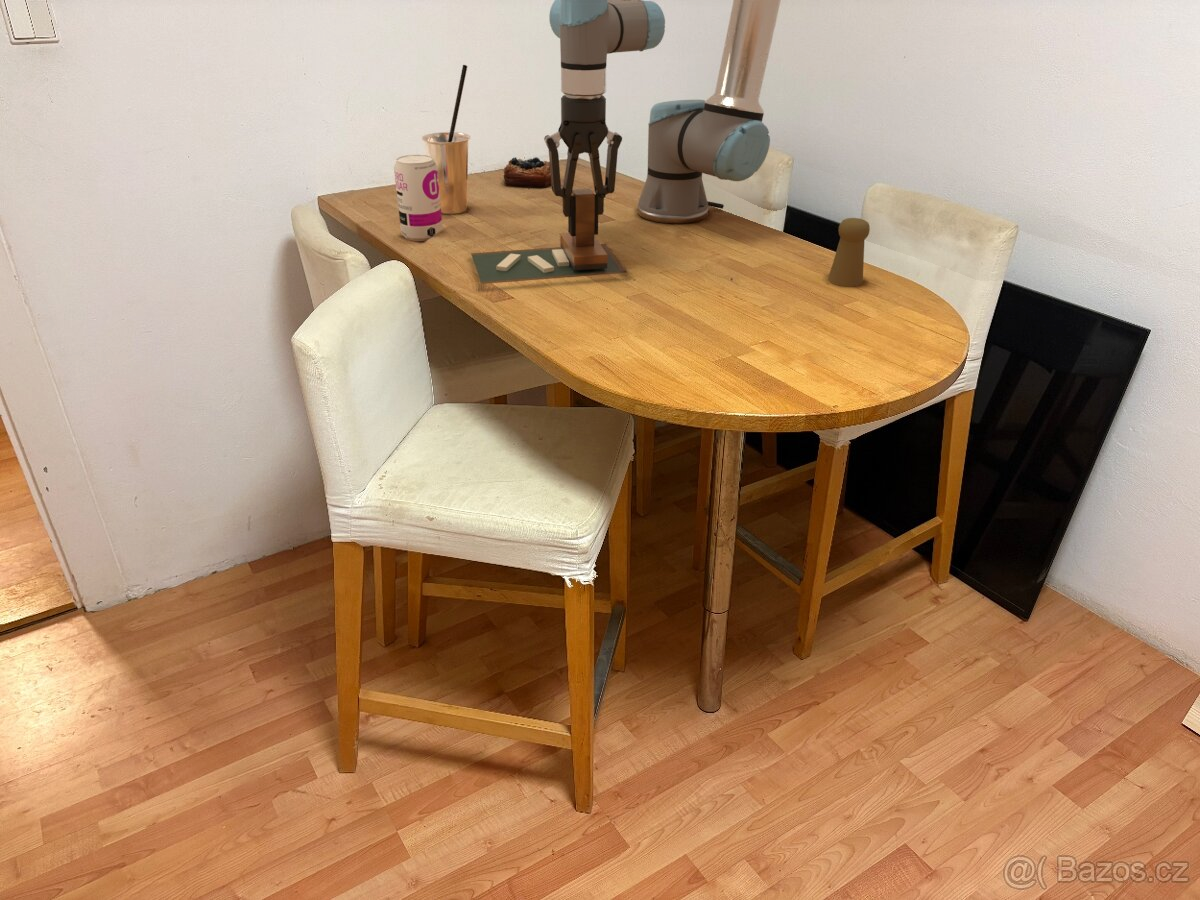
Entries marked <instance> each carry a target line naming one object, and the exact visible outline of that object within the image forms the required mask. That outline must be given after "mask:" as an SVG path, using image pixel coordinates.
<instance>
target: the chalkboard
mask: <svg viewBox="0 0 1200 900" xmlns="http://www.w3.org/2000/svg"><path fill="white" fill-rule="evenodd" d="M600 245H601V246H602V248H603V249H604V250H605V252H606V253H607V268H605V269H591V270H578V271H574V269H573V267H572V266H571V264H570V262H569V266H560V267H558V265H557V263H556V261H555V259H554V257H553V255H552V250H556V249H562V248H561V247H560V246H558V247H543V248H542V247H541V248H528V249H513V250H499V251H485V252H470V254H471V258H472V261H473V264H474V266H475V269H476V272H477V275H478V278H479V281H480V283H481V285H486V284H498V283H499V284H500V283H512V282H525V281H538V280H550V279H551V280H552V279H563V278H576V277H589V276H590V277H591V276H601V275H602V276H603V275H616V274H627V273H628V271H627V269H626V268H625V267H624V265H623V264H622V263H621V262H620V260H618V258H617V256H616V255H615V254H614V253H613V251H612V250H611V249H610V248H609V246H608V245H607V244H606V243H600ZM510 254H519V255H521V259H520V260H519V261H518V262H516V263H515V264H514V265H513V266H512V267H511V268H510V269H509V270H508V271H500V270H497V269H496V266H497V265H498V264H499V263H500V262H502V261H503V260H504V259H505V258H506V257H507V256H508V255H510ZM535 255H538V256H539V257H541V258H542V259H544V260H545V261H546V262H548V263H549V264H551V265H552V266H553V267H554V271H552V272H546V273H544V272H542V271H541V270H540V269H538V268H537V267H536V266H534V265H533V264H531V263H530V262H529V261H528V257H529V256H535ZM568 261H569V260H568Z"/></svg>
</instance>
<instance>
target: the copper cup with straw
mask: <svg viewBox="0 0 1200 900" xmlns="http://www.w3.org/2000/svg"><path fill="white" fill-rule="evenodd" d="M467 71H468V65H466V64H463V65H462V68H461V73H460V78H459V83H458V88H457V93H456V98H455V104H454V109H453V113H452V117H451V118H452V119H451V124H450V129H449V131H441V132H432V133H427V134H424V135H423V136H422V137H421V140H422V141H423V142H424V146H425V152H426V155H427V156H431V157H433V160H434V162H435V164H436V165H437V170H438V182H439V193H440V205H441V214H443V215H444V214H445V215H457V214H462V213H465V212H466V211H467V210H468V207H467V206H468V205H467V204H468V180H469V179H468V177H469V174H468V173H469V141H470V139H471V135H470V134H468V133H464V132H457V131H455V130H456V125H457V121H458V116H459V110H460V105H461V101H462V95H463V90H464V86H465V82H466V81H465V80H466V75H467Z"/></svg>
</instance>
